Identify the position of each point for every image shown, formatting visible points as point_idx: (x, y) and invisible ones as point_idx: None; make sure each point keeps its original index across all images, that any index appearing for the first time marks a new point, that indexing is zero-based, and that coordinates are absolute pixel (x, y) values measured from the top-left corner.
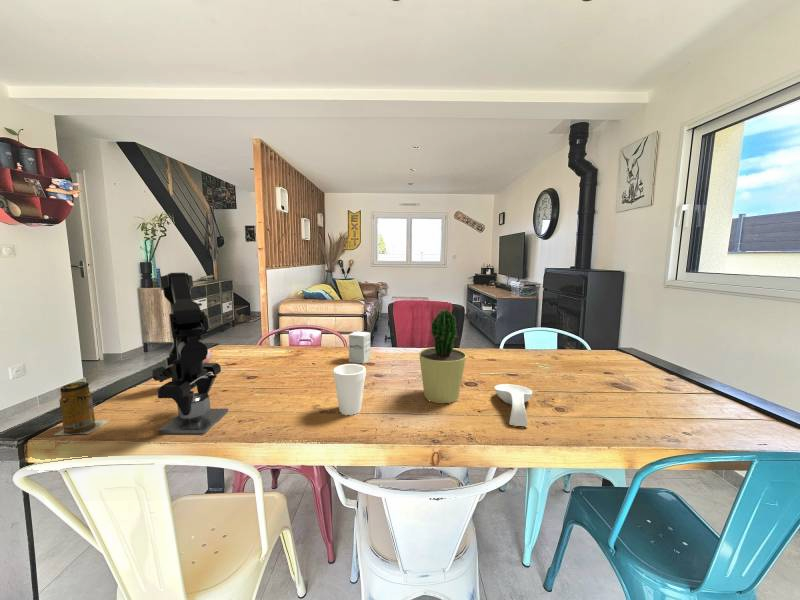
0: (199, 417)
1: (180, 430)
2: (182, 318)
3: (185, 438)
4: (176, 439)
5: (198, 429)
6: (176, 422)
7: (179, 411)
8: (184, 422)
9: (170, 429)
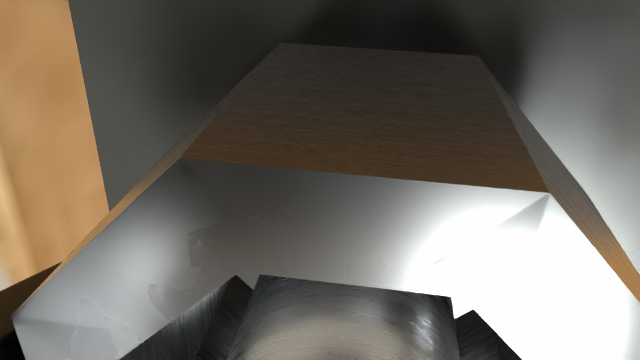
0: None
1: (100, 158)
2: None
3: (64, 218)
4: (31, 151)
5: None
6: (266, 1)
7: (179, 144)
8: None
9: (91, 34)
